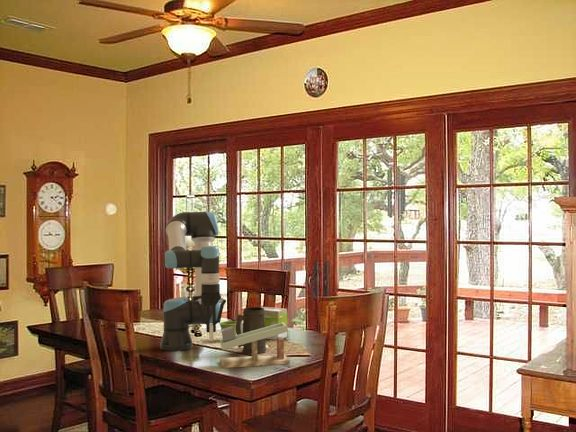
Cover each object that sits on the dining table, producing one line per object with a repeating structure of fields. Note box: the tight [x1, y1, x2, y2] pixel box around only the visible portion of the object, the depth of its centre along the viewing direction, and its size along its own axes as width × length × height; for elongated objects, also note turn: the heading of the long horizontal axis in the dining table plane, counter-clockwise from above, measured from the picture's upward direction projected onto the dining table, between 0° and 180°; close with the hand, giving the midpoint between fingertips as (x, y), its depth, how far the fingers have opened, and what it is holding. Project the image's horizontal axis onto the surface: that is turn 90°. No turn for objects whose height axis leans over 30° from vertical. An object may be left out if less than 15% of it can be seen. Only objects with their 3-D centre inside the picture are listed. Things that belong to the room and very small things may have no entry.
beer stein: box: [236, 306, 267, 354], centre depth 279 cm, size 15×11×20 cm
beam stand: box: [219, 337, 291, 369], centre depth 259 cm, size 28×11×10 cm, turn 101°
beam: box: [219, 322, 289, 351], centre depth 259 cm, size 28×8×3 cm, turn 100°
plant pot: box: [218, 320, 237, 335], centre depth 308 cm, size 9×9×9 cm
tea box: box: [260, 306, 288, 341], centre depth 313 cm, size 15×10×15 cm, turn 62°
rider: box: [220, 326, 236, 342], centre depth 257 cm, size 5×5×6 cm
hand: (211, 340), depth 256 cm, fingers closed
